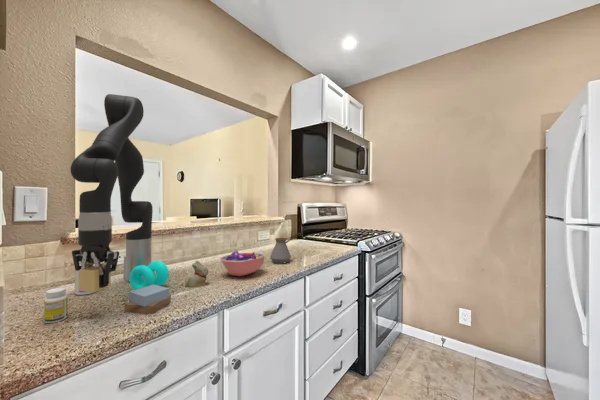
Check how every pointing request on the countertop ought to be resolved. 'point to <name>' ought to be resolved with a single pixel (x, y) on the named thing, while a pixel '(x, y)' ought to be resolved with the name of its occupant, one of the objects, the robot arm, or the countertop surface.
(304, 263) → the countertop surface
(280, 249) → the coffee pot
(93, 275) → the block top
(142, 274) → the donuts
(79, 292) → the supplement bottle
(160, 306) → the block lower
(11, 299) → the countertop surface
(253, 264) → the cell model
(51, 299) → the supplement bottle
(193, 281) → the chocolate bunny
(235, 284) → the countertop surface
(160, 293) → the block upper
